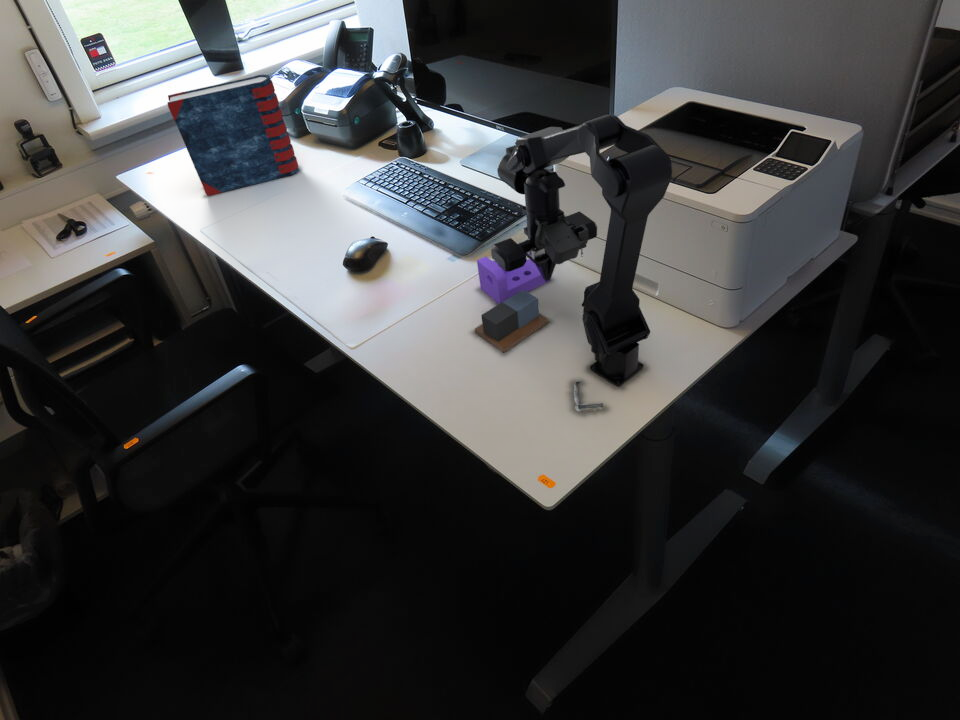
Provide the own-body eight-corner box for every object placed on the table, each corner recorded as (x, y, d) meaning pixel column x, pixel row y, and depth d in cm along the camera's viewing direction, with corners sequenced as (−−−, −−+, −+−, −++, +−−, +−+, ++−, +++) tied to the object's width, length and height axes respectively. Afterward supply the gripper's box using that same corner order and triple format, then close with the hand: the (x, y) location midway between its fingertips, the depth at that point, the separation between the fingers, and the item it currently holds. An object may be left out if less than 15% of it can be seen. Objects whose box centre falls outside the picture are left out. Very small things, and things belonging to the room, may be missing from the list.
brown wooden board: (548, 322, 122) (548, 318, 122) (504, 352, 118) (503, 348, 117) (518, 304, 127) (518, 300, 127) (474, 333, 123) (474, 328, 122)
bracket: (500, 305, 128) (496, 276, 123) (480, 289, 132) (476, 260, 128) (550, 280, 132) (548, 251, 127) (529, 265, 136) (527, 236, 132)
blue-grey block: (539, 315, 123) (538, 298, 120) (519, 328, 121) (517, 311, 118) (524, 306, 125) (522, 289, 122) (504, 319, 123) (502, 302, 120)
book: (298, 163, 185) (269, 71, 168) (301, 174, 180) (271, 80, 163) (206, 186, 181) (167, 94, 164) (206, 197, 176) (166, 103, 159)
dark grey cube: (518, 328, 121) (517, 311, 118) (498, 342, 119) (496, 324, 116) (503, 319, 123) (501, 301, 120) (483, 332, 121) (481, 315, 118)
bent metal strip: (611, 397, 105) (590, 413, 103) (611, 403, 106) (590, 419, 104) (577, 376, 110) (556, 391, 108) (577, 382, 111) (556, 397, 108)
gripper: (518, 244, 104) (524, 321, 115) (616, 206, 109) (614, 283, 120) (485, 215, 112) (494, 289, 123) (578, 180, 117) (580, 255, 128)
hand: (546, 279), depth 123 cm, fingers closed
